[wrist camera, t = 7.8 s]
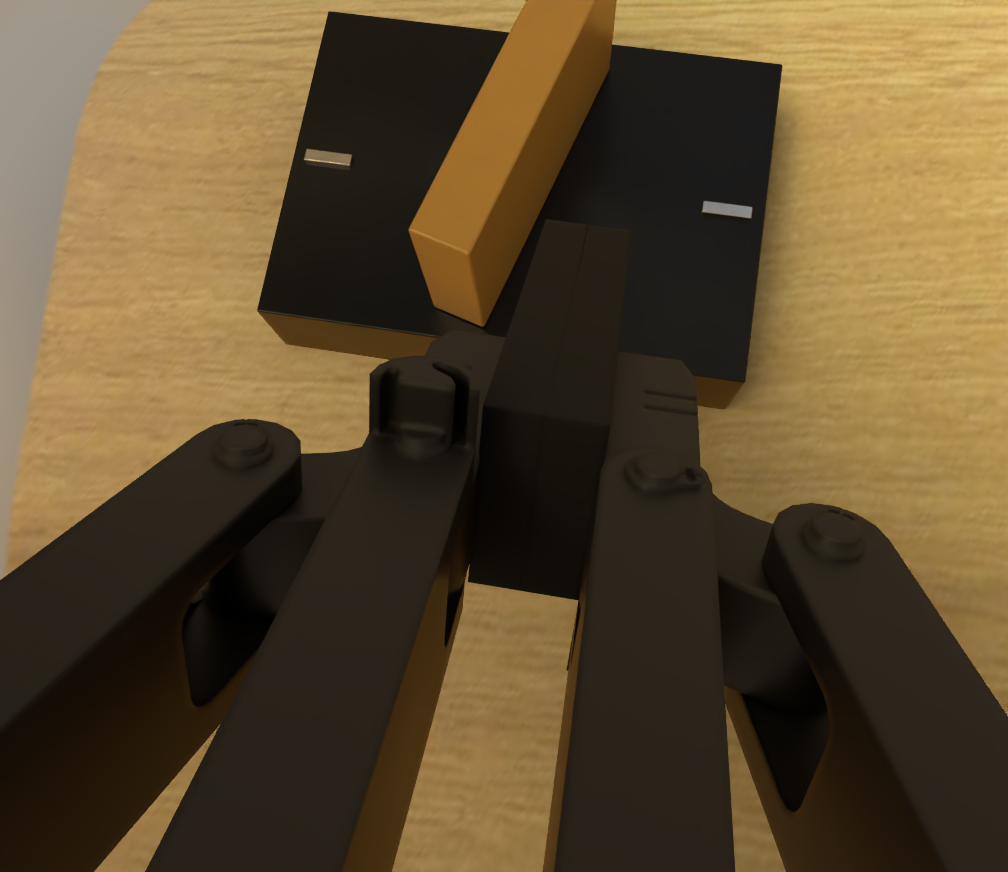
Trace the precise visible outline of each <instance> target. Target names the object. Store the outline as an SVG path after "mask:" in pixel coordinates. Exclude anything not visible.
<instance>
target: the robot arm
mask: <svg viewBox="0 0 1008 872" xmlns="http://www.w3.org/2000/svg"><path fill="white" fill-rule="evenodd" d="M630 234H631V230H624V229H617V228H609V227H602V226H594V225H587V224H579V223H572V222H564V221H557V220H549V219H546V220H545V223H544V226H543V229H542V232H541V235H540V238H539V241H538V244H537V247H536V250H535V253H534V256H533V259H532V262H531V265H530V268H529V271H528V274H527V277H526V280H525V283H524V286H523V288H522V291H521V294H520V297H519V300H518V303H517V306H516V309H515V312H514V315H513V318H512V321H511V324H510V327H509V330H508V333H507V336H506V337H500V336H493V335H486V334H479V333H472V332H465V331H458V330H450V331H449V332H447V333H446V334H444V335H442V336H441V337H439V338H438V339H436V340H435V341H433V342H431V344H430V346H429V348H428V350H427V352H426V354H425V356H417V355H415V356H408V357H401V358H395V359H392V360H390V361H387V362H385V363H382V364H380V365H379V366H378V367H377V368H376V369H374V370H373V371H372V372H371V373H370V406H369V435H368V436H367V438H366V440H365V442H364V444H363V446H362V447H360V448H356V449H353V450H349V451H342V452H332V453H311V454H301V446H300V440H299V439H298V438H297V436H296V435H295V434H294V433H293V431H292V430H290V429H288V428H286V427H284V426H281V425H279V424H277V423H274V422H268V421H263V420H257V419H248V420H245V419H241V420H233V421H229V422H225V423H221V424H217V425H213V426H211V427H209V428H208V429H206V430H204V431H202V432H200V433H198V434H196V435H195V436H194V437H192V438H191V439H190V440H188V441H187V442H186V443H184V444H183V445H182V446H180V447H179V448H178V449H176V450H175V451H174V452H172V453H171V454H170V455H168V456H167V457H166V458H164V459H163V460H161V461H160V462H159V463H157V464H156V465H155V466H153V467H152V468H151V469H149V470H148V471H147V472H145V473H144V474H143V475H141V476H140V477H139V478H137V479H136V480H135V481H133V482H132V483H131V484H129V485H128V486H127V487H125V488H124V489H122V490H121V491H120V492H118V493H117V494H116V495H114V496H113V497H112V498H110V499H109V500H108V501H106V502H105V503H104V504H102V505H101V506H100V507H98V508H97V509H96V510H94V511H93V512H92V513H90V514H89V515H88V516H86V517H85V518H83V519H82V520H81V521H79V522H78V523H77V524H75V525H74V526H73V527H71V528H70V529H69V530H67V531H66V532H65V533H63V534H62V535H61V536H59V537H58V538H57V539H55V540H54V541H53V542H51V543H50V544H49V545H47V546H46V547H45V548H43V549H42V550H40V551H39V552H38V553H36V554H35V555H34V556H32V557H31V558H30V559H28V560H27V561H26V562H24V563H23V564H22V565H20V566H19V567H18V568H16V569H15V570H14V571H12V572H11V573H10V574H8V575H7V576H6V577H4V578H3V579H1V580H0V872H94V871H95V870H96V869H97V867H98V866H99V865H100V864H101V863H102V862H103V860H104V859H105V858H106V857H107V856H108V855H109V853H110V852H111V851H112V850H113V849H114V848H115V846H116V845H117V844H118V843H119V842H120V841H121V839H122V838H123V837H124V836H125V835H126V834H127V832H128V831H129V830H130V829H131V828H132V827H133V825H134V824H135V823H136V822H137V821H138V820H139V818H140V817H141V816H142V815H143V814H144V813H145V811H146V810H147V809H148V808H149V807H150V806H151V804H152V803H153V802H154V801H155V800H156V799H157V797H158V796H159V795H160V794H161V793H162V792H163V790H164V789H165V788H166V787H167V786H168V785H169V783H170V782H171V781H172V780H173V779H174V778H175V776H176V775H177V774H178V773H179V772H180V771H181V769H182V768H183V767H184V766H185V765H186V764H187V762H188V761H189V760H190V759H191V758H192V757H193V755H194V754H195V753H196V752H197V751H198V750H199V748H200V747H201V746H202V745H203V744H204V743H205V741H206V740H207V739H208V738H209V737H210V736H211V734H212V733H213V732H214V731H215V730H216V729H217V727H218V726H219V725H220V726H219V728H218V730H217V732H216V734H215V736H214V738H213V740H212V742H211V744H210V746H209V748H208V750H207V752H206V754H205V756H204V758H203V760H202V762H201V763H200V765H199V767H198V769H197V771H196V773H195V775H194V777H193V779H192V781H191V783H190V785H189V787H188V789H187V791H186V793H185V795H184V797H183V799H182V801H181V803H180V805H179V807H178V809H177V810H176V812H175V814H174V816H173V818H172V820H171V822H170V824H169V826H168V828H167V830H166V832H165V834H164V836H163V838H162V840H161V842H160V844H159V846H158V848H157V850H156V852H155V854H154V856H153V857H152V859H151V861H150V863H149V865H148V867H147V869H146V871H145V872H392V869H393V865H394V861H395V857H396V854H397V850H398V846H399V843H400V839H401V835H402V831H403V828H404V824H405V820H406V817H407V813H408V809H409V805H410V802H411V798H412V794H413V791H414V787H415V783H416V780H417V776H418V772H419V768H420V765H421V761H422V757H423V754H424V750H425V746H426V742H427V739H428V735H429V731H430V728H431V724H432V720H433V716H434V713H435V709H436V705H437V702H438V698H439V694H440V691H441V687H442V683H443V679H444V676H445V672H446V668H447V665H448V661H449V657H450V653H451V650H452V646H453V642H454V639H455V635H456V631H457V627H458V624H459V620H460V616H461V613H462V608H463V596H464V583H465V577H466V574H467V570H468V567H469V577H468V582H472V583H478V584H484V585H490V586H496V587H502V588H508V589H514V590H520V591H526V592H532V593H538V594H544V595H550V596H556V597H562V598H568V599H574V600H579V601H578V607H577V613H576V619H575V624H574V630H573V636H572V642H571V648H570V653H569V659H568V665H567V670H568V678H567V686H566V694H565V701H564V709H563V717H562V725H561V733H560V740H559V748H558V756H557V764H556V772H555V779H554V787H553V795H552V803H551V811H550V818H549V826H548V834H547V842H546V850H545V857H544V865H543V872H735V859H734V842H733V826H732V809H731V793H730V776H729V760H728V743H727V726H726V710H725V703H726V706H727V709H728V712H729V714H730V717H731V720H732V723H733V725H734V728H735V731H736V734H737V736H738V739H739V742H740V745H741V748H742V750H743V753H744V756H745V759H746V761H747V764H748V767H749V770H750V772H751V775H752V778H753V781H754V784H755V786H756V789H757V792H758V795H759V797H760V800H761V803H762V806H763V808H764V811H765V814H766V817H767V820H768V822H769V825H770V828H771V831H772V833H773V836H774V839H775V842H776V844H777V847H778V850H779V853H780V856H781V858H782V861H783V864H784V867H785V869H786V872H1008V716H1007V715H1006V713H1005V712H1004V710H1003V709H1002V707H1001V706H1000V704H999V703H998V701H997V700H996V698H995V697H994V695H993V694H992V692H991V691H990V689H989V688H988V686H987V685H986V683H985V682H984V680H983V679H982V677H981V676H980V674H979V673H978V671H977V670H976V668H975V667H974V665H973V664H972V662H971V661H970V659H969V658H968V657H967V655H966V654H965V652H964V651H963V649H962V648H961V646H960V645H959V643H958V642H957V640H956V639H955V637H954V636H953V634H952V633H951V631H950V630H949V628H948V627H947V625H946V624H945V622H944V621H943V619H942V618H941V616H940V615H939V613H938V612H937V610H936V609H935V607H934V606H933V604H932V603H931V601H930V600H929V598H928V597H927V595H926V594H925V593H924V591H923V590H922V588H921V587H920V585H919V584H918V582H917V581H916V579H915V578H914V576H913V575H912V573H911V572H910V570H909V569H908V567H907V566H906V564H905V563H904V561H903V560H902V558H901V557H900V555H899V554H898V552H897V551H896V549H895V548H894V546H893V545H892V543H891V542H890V540H889V539H888V538H887V537H886V536H885V535H884V534H883V533H882V532H881V531H880V530H879V529H878V528H877V527H876V526H875V525H874V524H872V523H870V522H869V521H867V520H865V519H864V518H862V517H860V516H859V515H857V514H855V513H853V512H850V511H848V510H844V509H842V508H839V507H835V506H830V505H822V504H815V503H808V504H800V505H792V506H790V507H788V508H787V509H785V510H783V511H781V512H779V513H778V515H777V517H776V519H775V521H774V523H773V524H771V523H768V522H765V521H762V520H760V519H757V518H754V517H751V516H749V515H747V514H744V513H742V512H740V511H738V510H735V509H733V508H732V507H730V506H728V505H727V504H725V503H724V502H722V501H721V500H719V499H718V498H717V497H716V496H715V495H714V494H713V493H712V484H711V482H710V479H709V476H708V474H707V472H706V471H705V470H704V469H703V468H702V467H701V466H700V449H699V429H698V416H697V414H698V408H697V401H696V400H697V388H696V378H695V377H694V376H693V374H692V373H691V372H690V370H689V369H688V368H687V367H686V365H685V364H684V363H683V362H682V360H676V359H669V358H662V357H655V356H648V355H641V354H634V353H627V352H620V351H618V349H619V340H620V330H621V321H622V311H623V301H624V292H625V282H626V272H627V263H628V253H629V244H630ZM469 563H470V565H469Z"/></svg>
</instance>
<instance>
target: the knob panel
mask: <svg viewBox="0 0 1008 872" xmlns="http://www.w3.org/2000/svg"><path fill="white" fill-rule="evenodd" d="M508 35H509V32H500V31H492V30H483V29H475V28H466V27H458V26H449V25H441V24H432V23H424V22H415V21H407V20H398V19H390V18H381V17H373V16H364V15H356V14H347V13H339V12H328V16H327V20H326V24H325V29H324V33H323V37H322V41H321V45H320V50H319V54H318V58H317V62H316V66H315V70H314V75H313V79H312V83H311V87H310V91H309V96H308V100H307V104H306V108H305V112H304V116H303V121H302V125H301V129H300V133H299V137H298V142H297V146H296V150H295V154H294V158H293V162H292V167H291V171H290V175H289V179H288V183H287V188H286V192H285V196H284V200H283V204H282V209H281V213H280V217H279V221H278V225H277V229H276V234H275V238H274V242H273V246H272V250H271V255H270V259H269V263H268V267H267V271H266V275H265V280H264V284H263V288H262V292H261V296H260V301H259V305H258V309H257V311H258V312H259V314H260V315H261V316H262V317H263V318H264V319H265V320H266V322H267V323H268V324H269V325H270V326H271V327H272V329H273V330H274V331H275V332H276V333H277V334H278V335H279V337H280V338H281V339H282V340H283V341H284V342H285V343H286V344H290V345H297V346H304V347H310V348H317V349H324V350H330V351H337V352H344V353H350V354H357V355H364V356H371V357H377V358H384V359H391V360H392V359H395V358H401V357H408V356H415V355H417V356H425V354H426V352H427V350H428V348H429V346H430V344H431V342H433V341H435V340H436V339H438V338H439V337H441V336H442V335H444V334H446V333H447V332H449V331H450V330H458V331H465V332H472V333H479V334H486V335H493V336H500V337H506V336H507V333H508V330H509V327H510V324H511V321H512V318H513V315H514V312H515V309H516V306H517V303H518V300H519V297H520V294H521V291H522V288H523V286H524V283H525V280H526V277H527V274H528V271H529V268H530V265H531V262H532V259H533V256H534V253H535V250H536V247H537V244H538V241H539V238H540V235H541V232H542V229H543V226H544V223H545V220H546V219H549V220H557V221H564V222H572V223H579V224H587V225H594V226H602V227H609V228H617V229H624V230H631V234H630V244H629V253H628V263H627V272H626V282H625V292H624V301H623V311H622V321H621V330H620V340H619V349H618V351H620V352H627V353H634V354H641V355H648V356H655V357H662V358H669V359H676V360H682V362H683V363H684V364H685V365H686V367H687V368H688V369H689V370H690V372H691V373H692V374H693V376H694V377H695V378H696V388H697V400H696V401H697V405H699V406H706V407H713V408H719V409H726V407H727V406H728V405H729V403H730V402H731V400H732V399H733V398H734V396H735V395H736V394H737V392H738V391H739V389H740V388H741V387H742V385H743V384H744V383H745V379H746V371H747V362H748V354H749V345H750V337H751V328H752V320H753V311H754V303H755V294H756V286H757V277H758V269H759V260H760V252H761V243H762V235H763V226H764V218H765V209H766V201H767V192H768V184H769V175H770V167H771V158H772V150H773V141H774V133H775V124H776V115H777V107H778V98H779V90H780V81H781V73H782V65H781V64H773V63H764V62H756V61H747V60H739V59H730V58H722V57H713V56H705V55H696V54H688V53H679V52H671V51H662V50H654V49H645V48H637V47H628V46H620V45H612V49H611V59H610V69H609V71H608V73H607V75H606V77H605V79H604V81H603V83H602V85H601V87H600V89H599V91H598V93H597V95H596V98H595V100H594V102H593V104H592V106H591V108H590V110H589V112H588V114H587V116H586V118H585V120H584V122H583V124H582V126H581V128H580V130H579V133H578V135H577V137H576V139H575V141H574V143H573V145H572V147H571V149H570V151H569V153H568V155H567V157H566V159H565V161H564V163H563V165H562V168H561V170H560V172H559V174H558V176H557V178H556V180H555V182H554V184H553V186H552V188H551V190H550V192H549V194H548V196H547V198H546V200H545V203H544V205H543V207H542V209H541V211H540V213H539V215H538V217H537V219H536V221H535V223H534V225H533V227H532V229H531V231H530V233H529V235H528V238H527V240H526V242H525V244H524V246H523V248H522V250H521V252H520V254H519V256H518V258H517V260H516V262H515V264H514V266H513V268H512V270H511V273H510V275H509V277H508V279H507V281H506V283H505V285H504V287H503V289H502V291H501V293H500V295H499V297H498V299H497V301H496V303H495V305H494V307H493V310H492V312H491V314H490V316H489V318H488V320H487V322H486V324H485V325H484V326H479V325H477V324H474V323H472V322H470V321H467V320H465V319H463V318H460V317H458V316H455V315H453V314H451V313H448V312H446V311H444V310H441V309H439V308H437V307H435V306H434V304H433V301H432V298H431V295H430V292H429V289H428V286H427V283H426V280H425V277H424V275H423V272H422V269H421V266H420V263H419V260H418V257H417V254H416V251H415V248H414V245H413V242H412V239H411V236H410V233H409V228H410V226H411V224H412V222H413V220H414V218H415V216H416V214H417V212H418V210H419V208H420V206H421V204H422V202H423V200H424V198H425V196H426V194H427V193H428V191H429V189H430V187H431V185H432V183H433V181H434V179H435V177H436V175H437V173H438V171H439V169H440V167H441V165H442V163H443V161H444V159H445V158H446V156H447V154H448V152H449V150H450V148H451V146H452V144H453V142H454V140H455V138H456V136H457V134H458V132H459V130H460V128H461V126H462V124H463V123H464V121H465V119H466V117H467V115H468V113H469V111H470V109H471V107H472V105H473V103H474V101H475V99H476V97H477V95H478V93H479V91H480V89H481V88H482V86H483V84H484V82H485V80H486V78H487V76H488V74H489V72H490V70H491V68H492V66H493V64H494V62H495V60H496V58H497V56H498V55H499V53H500V51H501V49H502V47H503V45H504V43H505V41H506V39H507V37H508Z"/></svg>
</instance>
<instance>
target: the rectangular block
mask: <svg viewBox="0 0 1008 872" xmlns="http://www.w3.org/2000/svg"><path fill="white" fill-rule="evenodd" d="M615 10H616V0H526V2H525V4H524V6H523V8H522V10H521V12H520V14H519V16H518V18H517V20H516V21H515V23H514V25H513V27H512V29H511V31H510V33H509V35H508V37H507V39H506V41H505V43H504V45H503V47H502V49H501V51H500V53H499V55H498V56H497V58H496V60H495V62H494V64H493V66H492V68H491V70H490V72H489V74H488V76H487V78H486V80H485V82H484V84H483V86H482V88H481V89H480V91H479V93H478V95H477V97H476V99H475V101H474V103H473V105H472V107H471V109H470V111H469V113H468V115H467V117H466V119H465V121H464V123H463V124H462V126H461V128H460V130H459V132H458V134H457V136H456V138H455V140H454V142H453V144H452V146H451V148H450V150H449V152H448V154H447V156H446V158H445V159H444V161H443V163H442V165H441V167H440V169H439V171H438V173H437V175H436V177H435V179H434V181H433V183H432V185H431V187H430V189H429V191H428V193H427V194H426V196H425V198H424V200H423V202H422V204H421V206H420V208H419V210H418V212H417V214H416V216H415V218H414V220H413V222H412V224H411V226H410V228H409V233H410V236H411V239H412V242H413V245H414V248H415V251H416V254H417V257H418V260H419V263H420V266H421V269H422V272H423V275H424V277H425V280H426V283H427V286H428V289H429V292H430V295H431V298H432V301H433V304H434V306H435V307H437V308H439V309H441V310H444V311H446V312H448V313H451V314H453V315H455V316H458V317H460V318H463V319H465V320H467V321H470V322H472V323H474V324H477V325H479V326H484V325H485V324H486V322H487V320H488V318H489V316H490V314H491V312H492V310H493V307H494V305H495V303H496V301H497V299H498V297H499V295H500V293H501V291H502V289H503V287H504V285H505V283H506V281H507V279H508V277H509V275H510V273H511V270H512V268H513V266H514V264H515V262H516V260H517V258H518V256H519V254H520V252H521V250H522V248H523V246H524V244H525V242H526V240H527V238H528V235H529V233H530V231H531V229H532V227H533V225H534V223H535V221H536V219H537V217H538V215H539V213H540V211H541V209H542V207H543V205H544V203H545V200H546V198H547V196H548V194H549V192H550V190H551V188H552V186H553V184H554V182H555V180H556V178H557V176H558V174H559V172H560V170H561V168H562V165H563V163H564V161H565V159H566V157H567V155H568V153H569V151H570V149H571V147H572V145H573V143H574V141H575V139H576V137H577V135H578V133H579V130H580V128H581V126H582V124H583V122H584V120H585V118H586V116H587V114H588V112H589V110H590V108H591V106H592V104H593V102H594V100H595V98H596V95H597V93H598V91H599V89H600V87H601V85H602V83H603V81H604V79H605V77H606V75H607V73H608V71H609V69H610V59H611V49H612V39H613V29H614V19H615Z"/></svg>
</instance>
